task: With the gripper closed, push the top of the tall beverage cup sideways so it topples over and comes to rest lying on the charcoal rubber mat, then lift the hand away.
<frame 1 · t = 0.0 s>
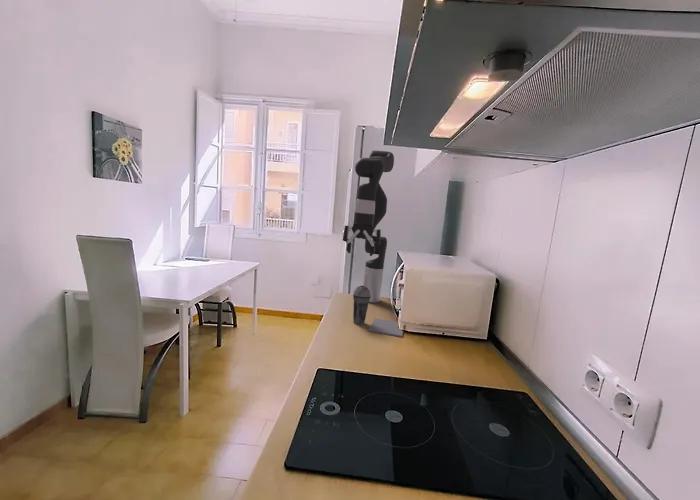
hand: (359, 254, 141), 29 cm above the kitchen counter, tool pointing down, fingers open, 8 cm apart
rubber mat: (387, 327, 149), on the kitchen counter
beverage cup: (358, 323, 151), on the kitchen counter
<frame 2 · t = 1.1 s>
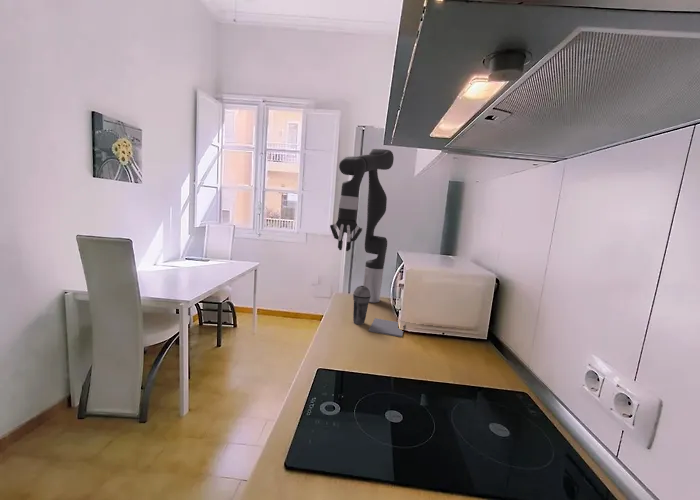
hand: (343, 250, 150), 29 cm above the kitchen counter, tool pointing down, fingers closed
nothing on the kitchen counter moved.
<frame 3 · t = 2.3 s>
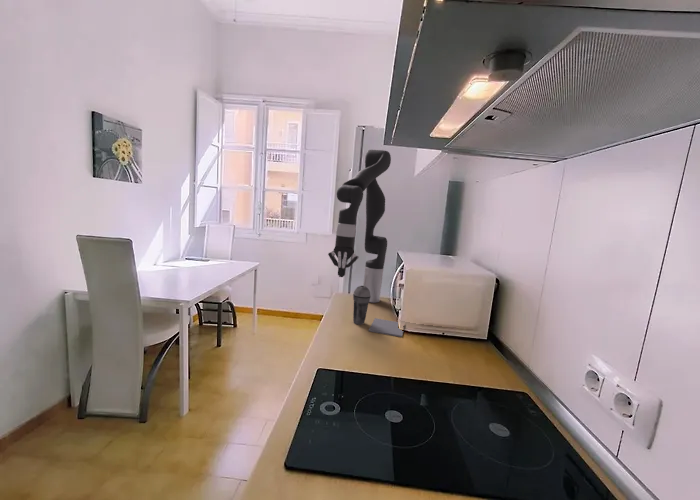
hand: (341, 276, 151), 18 cm above the kitchen counter, tool pointing down, fingers closed
nothing on the kitchen counter moved.
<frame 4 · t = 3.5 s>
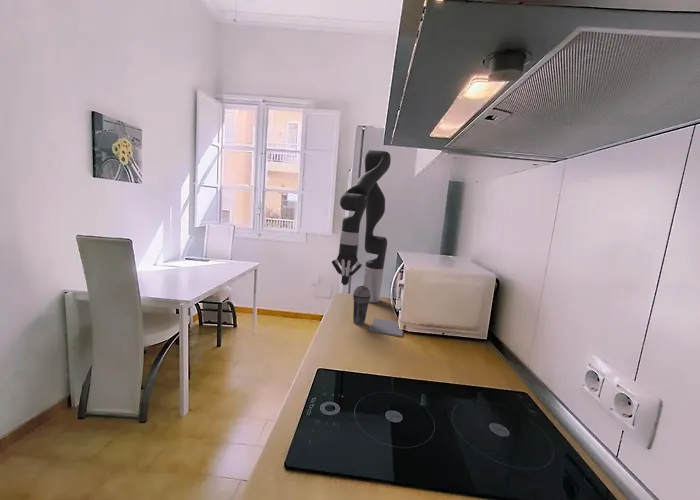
hand: (344, 284, 151), 15 cm above the kitchen counter, tool pointing down, fingers closed
nothing on the kitchen counter moved.
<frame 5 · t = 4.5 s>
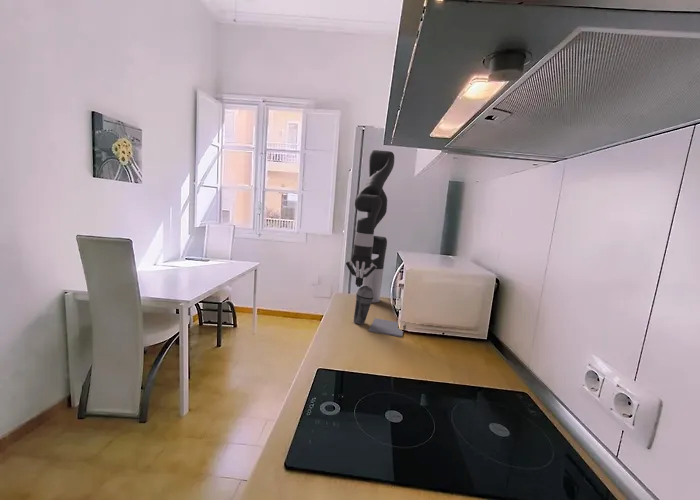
hand: (358, 286, 150), 15 cm above the kitchen counter, tool pointing down, fingers closed
beverage cup: (358, 322, 151), on the kitchen counter, touching gripper
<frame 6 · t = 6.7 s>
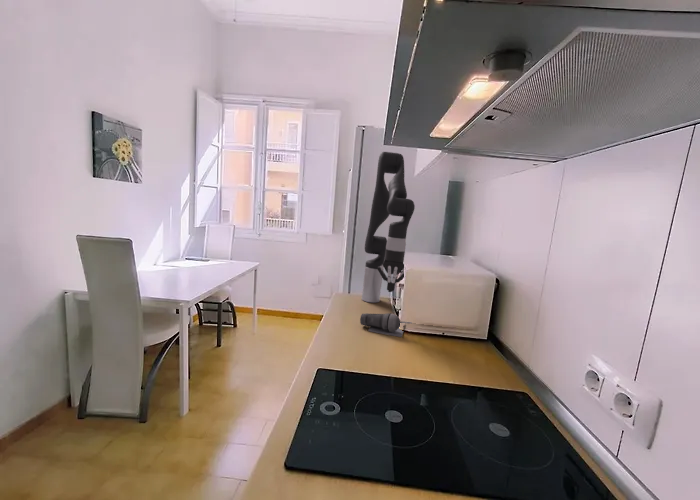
hand: (390, 291, 147), 15 cm above the kitchen counter, tool pointing down, fingers closed
beverage cup: (361, 319, 147), point 3 cm above the kitchen counter, touching rubber mat
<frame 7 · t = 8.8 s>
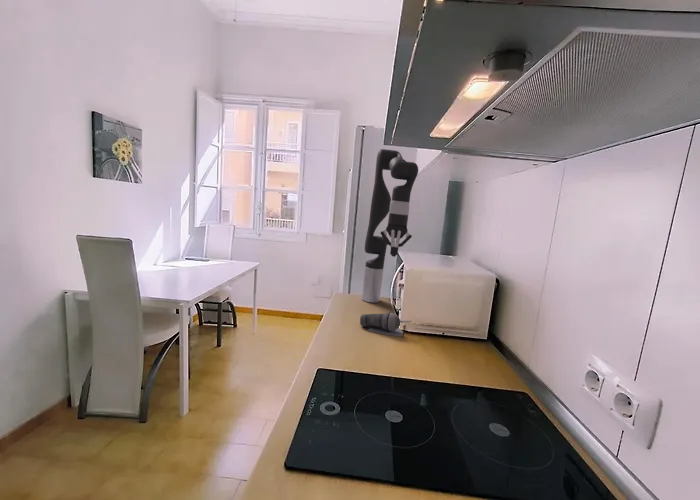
hand: (393, 256, 147), 29 cm above the kitchen counter, tool pointing down, fingers closed
nothing on the kitchen counter moved.
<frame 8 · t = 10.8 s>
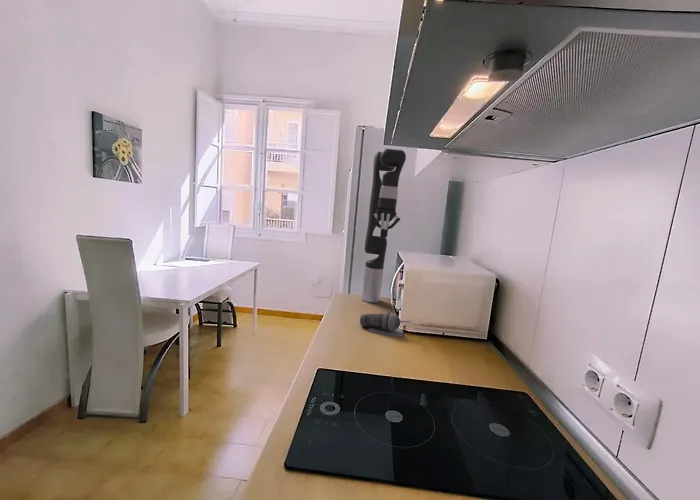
hand: (383, 238, 158), 35 cm above the kitchen counter, tool pointing down, fingers closed
nothing on the kitchen counter moved.
at the end: beverage cup tilted 81°; beverage cup touching rubber mat; beverage cup inside the target area (11.0 cm from its centre), point 2.3 cm above the kitchen counter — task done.
